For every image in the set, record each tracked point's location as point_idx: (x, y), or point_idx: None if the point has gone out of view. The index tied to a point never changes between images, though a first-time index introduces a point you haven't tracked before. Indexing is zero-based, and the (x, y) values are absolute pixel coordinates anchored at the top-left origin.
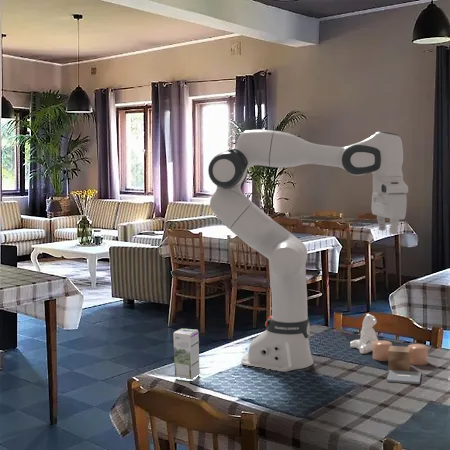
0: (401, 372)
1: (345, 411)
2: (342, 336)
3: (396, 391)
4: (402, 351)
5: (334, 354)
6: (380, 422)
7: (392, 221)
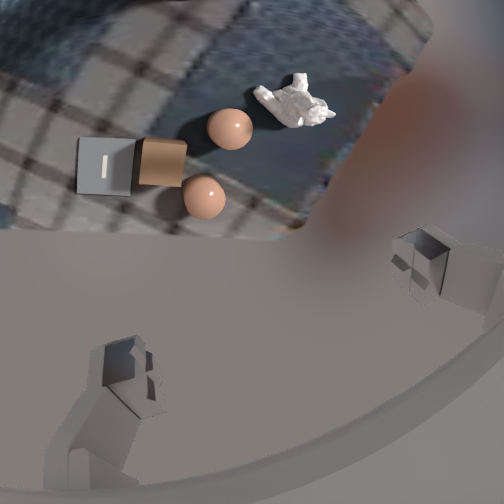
0: (122, 161)
1: None
2: (364, 73)
3: (38, 157)
4: (143, 170)
5: (247, 38)
6: None
7: (46, 465)
